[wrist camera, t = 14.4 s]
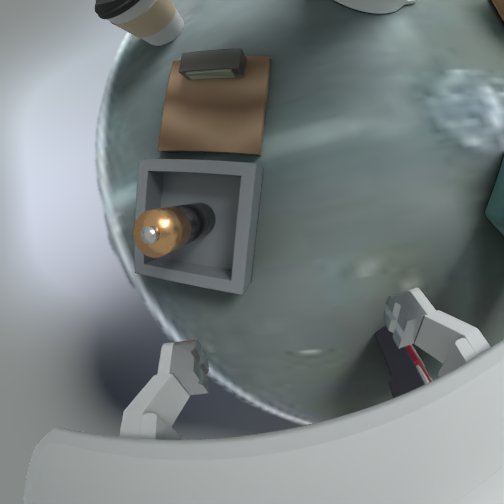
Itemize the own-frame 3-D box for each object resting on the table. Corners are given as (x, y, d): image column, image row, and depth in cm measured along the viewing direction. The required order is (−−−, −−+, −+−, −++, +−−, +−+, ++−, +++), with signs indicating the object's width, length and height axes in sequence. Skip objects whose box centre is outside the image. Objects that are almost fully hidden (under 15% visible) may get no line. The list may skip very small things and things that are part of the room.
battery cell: (185, 201, 35) (128, 209, 23) (216, 204, 34) (170, 212, 22) (183, 234, 36) (128, 256, 24) (214, 237, 35) (168, 263, 23)
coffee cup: (158, 10, 30) (112, -32, 16) (200, 12, 29) (158, -41, 15) (133, 49, 32) (76, 14, 18) (173, 54, 32) (118, 9, 17)
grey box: (423, 362, 34) (456, 425, 20) (401, 377, 35) (426, 444, 21) (394, 317, 34) (431, 380, 19) (370, 335, 35) (395, 405, 20)
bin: (159, 162, 36) (139, 159, 31) (263, 167, 33) (256, 163, 28) (153, 263, 39) (134, 272, 34) (251, 281, 37) (242, 294, 32)
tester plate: (177, 65, 32) (163, 53, 28) (271, 60, 30) (266, 45, 25) (163, 151, 35) (146, 148, 31) (260, 155, 33) (254, 150, 29)
